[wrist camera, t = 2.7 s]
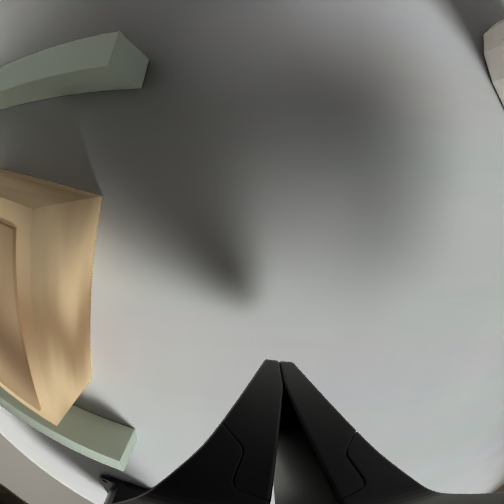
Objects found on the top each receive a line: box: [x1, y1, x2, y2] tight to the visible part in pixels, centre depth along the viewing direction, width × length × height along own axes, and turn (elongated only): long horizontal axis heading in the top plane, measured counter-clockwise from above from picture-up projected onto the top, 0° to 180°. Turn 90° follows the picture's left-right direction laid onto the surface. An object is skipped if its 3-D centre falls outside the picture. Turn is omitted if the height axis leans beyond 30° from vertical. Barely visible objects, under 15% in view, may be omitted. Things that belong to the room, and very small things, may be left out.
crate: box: [0, 169, 103, 426], centre depth 8 cm, size 9×7×4 cm
